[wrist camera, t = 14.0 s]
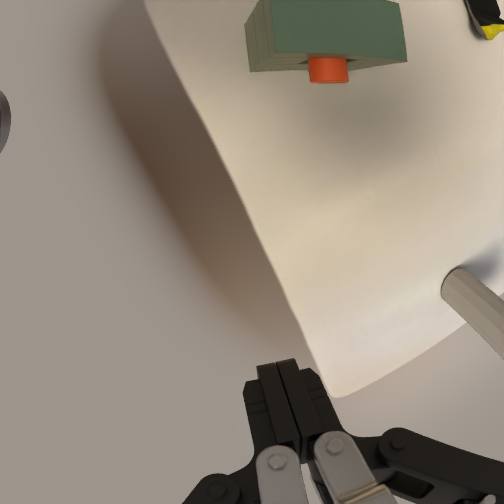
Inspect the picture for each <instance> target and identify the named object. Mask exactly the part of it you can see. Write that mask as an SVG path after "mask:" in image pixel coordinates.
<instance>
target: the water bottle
mask: <svg viewBox="0 0 504 504" xmlns="http://www.w3.org/2000/svg"><path fill="white" fill-rule="evenodd" d="M441 297H442V298H443V299H444V300H445V301H446V302H447V303H448V304H449V305H450V306H451V307H452V308H453V309H454V310H455V311H456V312H457V313H458V314H459V315H460V316H461V317H462V318H463V319H464V320H465V321H466V322H467V323H468V324H469V325H470V326H471V327H472V328H473V329H475V331H477V332H478V334H480V336H481V337H483V339H484V340H485V341H486V342H487V343H488V344H489V345H490V346H491V347H492V348H493V349H494V350H495V351H496V352H497V353H498V354H499V355H500V356H501V358H502V359H503V360H504V301H503V300H502V299H501V298H500V297H499V296H497V295H496V294H495V293H494V292H493V291H491V290H490V289H489V288H488V287H486V286H485V285H484V284H483V283H481V282H480V281H479V280H478V279H476V278H475V277H474V276H473V275H471V274H470V273H469V272H467V271H466V270H465V269H455V270H454V271H452V272H451V273H450V274H449V275H448V276H447V278H446V279H445V280H444V283H443V285H442V288H441Z"/></svg>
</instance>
